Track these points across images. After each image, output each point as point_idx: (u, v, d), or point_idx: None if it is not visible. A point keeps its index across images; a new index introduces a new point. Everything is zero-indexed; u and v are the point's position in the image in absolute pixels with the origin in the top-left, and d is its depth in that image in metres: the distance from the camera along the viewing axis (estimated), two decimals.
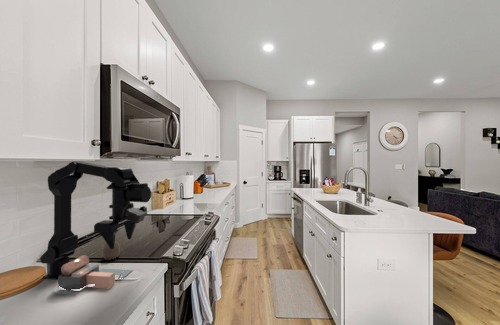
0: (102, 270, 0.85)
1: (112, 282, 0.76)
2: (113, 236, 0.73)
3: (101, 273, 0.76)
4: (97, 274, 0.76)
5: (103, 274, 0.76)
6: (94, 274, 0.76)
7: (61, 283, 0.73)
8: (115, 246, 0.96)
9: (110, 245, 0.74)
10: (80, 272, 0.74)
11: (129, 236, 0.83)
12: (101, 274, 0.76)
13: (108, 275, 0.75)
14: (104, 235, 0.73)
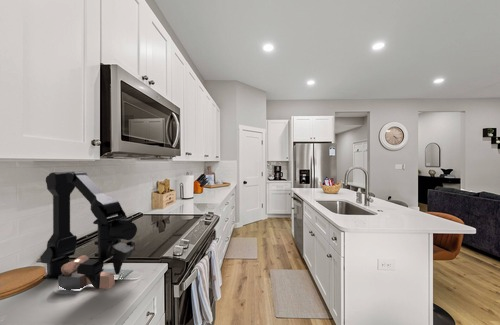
0: None
1: (112, 282, 0.76)
2: (98, 276, 0.70)
3: (101, 273, 0.76)
4: None
5: (103, 274, 0.75)
6: None
7: (61, 283, 0.73)
8: None
9: (95, 285, 0.70)
10: None
11: (117, 271, 0.80)
12: (101, 274, 0.76)
13: (108, 275, 0.75)
14: (88, 275, 0.69)
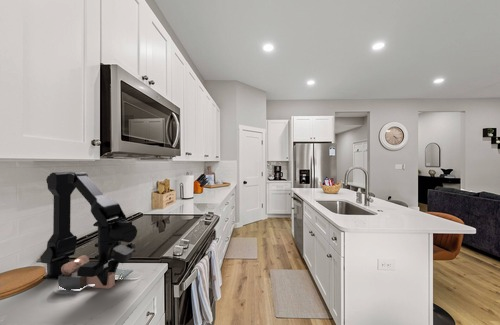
0: None
1: (112, 281, 0.76)
2: (105, 273, 0.73)
3: None
4: None
5: None
6: None
7: (61, 283, 0.73)
8: None
9: (103, 282, 0.74)
10: None
11: None
12: None
13: (108, 274, 0.75)
14: None
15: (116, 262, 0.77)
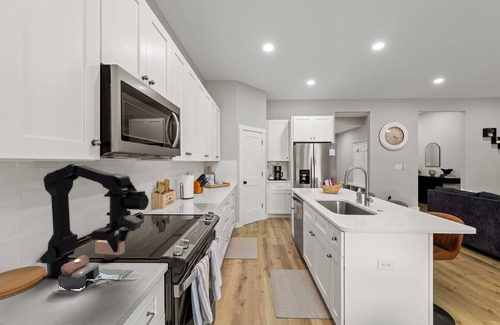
0: (102, 270, 0.85)
1: (122, 249, 0.80)
2: (116, 240, 0.77)
3: None
4: None
5: None
6: (105, 241, 0.80)
7: (61, 283, 0.73)
8: None
9: (114, 249, 0.78)
10: (80, 272, 0.74)
11: None
12: None
13: (119, 242, 0.79)
14: (108, 239, 0.77)
15: (126, 231, 0.82)
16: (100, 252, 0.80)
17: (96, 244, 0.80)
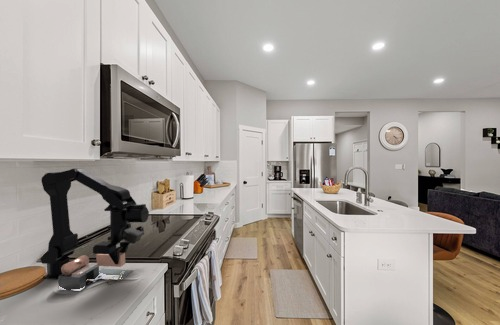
0: (102, 270, 0.85)
1: (123, 261, 0.83)
2: (117, 253, 0.80)
3: None
4: None
5: None
6: (107, 254, 0.83)
7: (61, 283, 0.73)
8: None
9: (115, 261, 0.81)
10: (80, 272, 0.74)
11: None
12: None
13: (120, 254, 0.82)
14: None
15: (126, 244, 0.84)
16: (101, 264, 0.82)
17: (97, 257, 0.82)
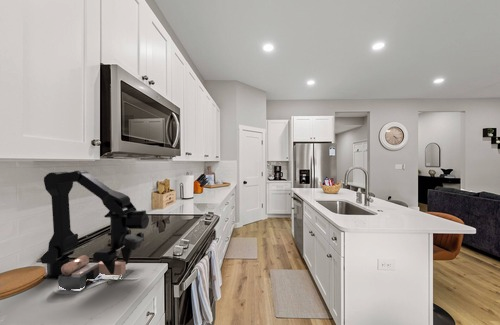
0: None
1: (123, 270, 0.83)
2: (113, 262, 0.78)
3: None
4: None
5: (115, 263, 0.83)
6: None
7: (61, 283, 0.73)
8: None
9: (110, 271, 0.78)
10: (80, 272, 0.74)
11: (126, 261, 0.86)
12: None
13: (120, 263, 0.82)
14: (105, 261, 0.77)
15: None
16: None
17: None
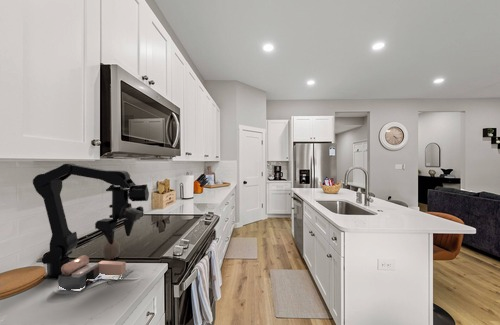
0: None
1: (123, 270, 0.83)
2: (112, 233, 0.82)
3: (113, 262, 0.83)
4: (110, 263, 0.83)
5: (115, 263, 0.83)
6: (107, 263, 0.83)
7: (61, 283, 0.73)
8: (115, 246, 0.96)
9: (110, 241, 0.82)
10: (80, 272, 0.74)
11: (128, 233, 0.92)
12: (114, 262, 0.83)
13: (120, 263, 0.82)
14: (104, 232, 0.82)
15: None
16: None
17: None
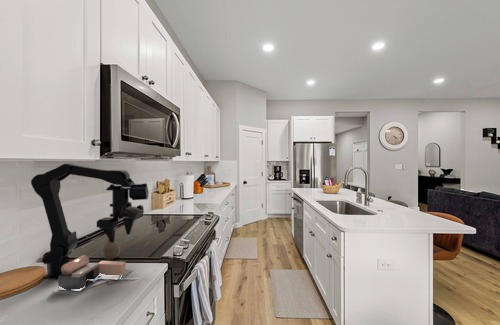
0: None
1: (123, 270, 0.83)
2: (113, 231, 0.83)
3: (113, 262, 0.83)
4: (110, 263, 0.83)
5: (115, 263, 0.83)
6: (107, 263, 0.83)
7: (61, 283, 0.73)
8: (115, 246, 0.96)
9: (111, 239, 0.84)
10: (80, 272, 0.74)
11: (128, 232, 0.93)
12: (114, 262, 0.83)
13: (120, 263, 0.82)
14: (105, 230, 0.83)
15: None
16: None
17: None
